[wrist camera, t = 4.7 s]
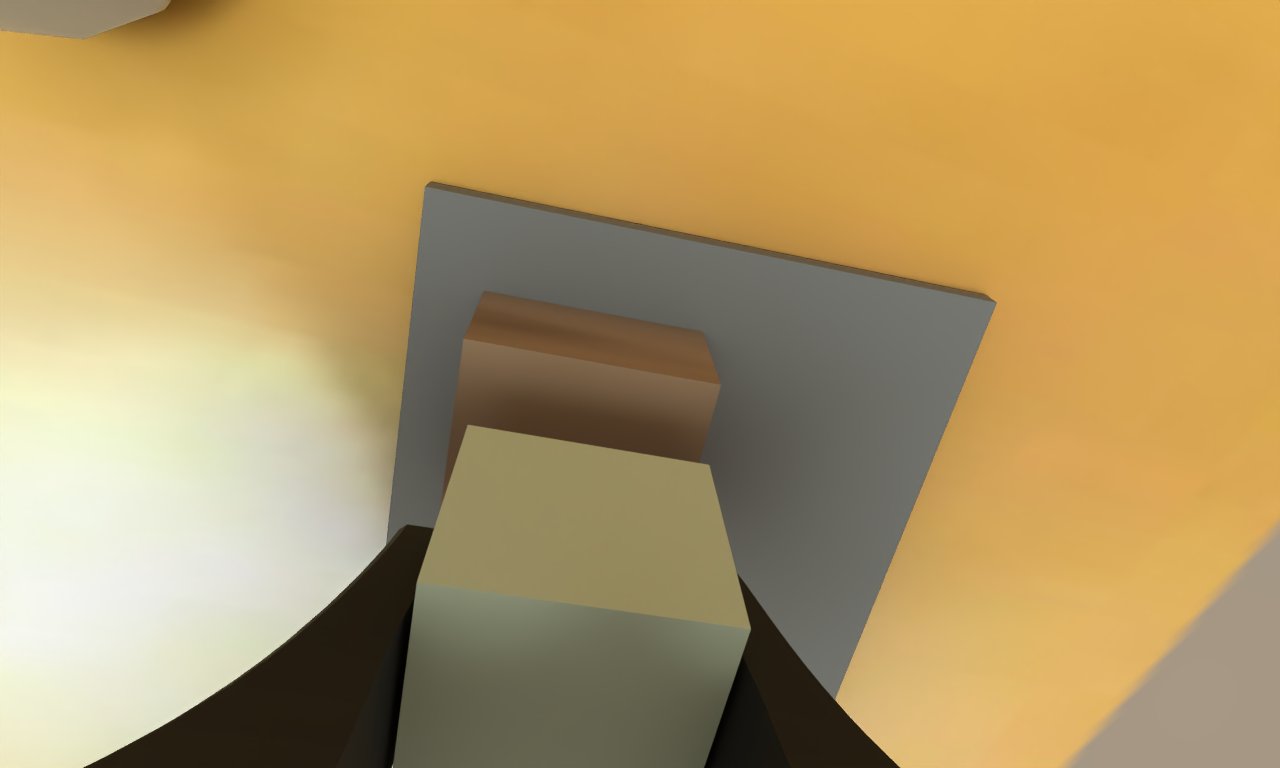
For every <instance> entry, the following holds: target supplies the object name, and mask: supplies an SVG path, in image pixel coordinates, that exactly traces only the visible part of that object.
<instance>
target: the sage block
mask: <svg viewBox="0 0 1280 768" xmlns="http://www.w3.org/2000/svg"><path fill="white" fill-rule="evenodd" d="M750 631H751V627H750V623H749V619H748V615H747V611H746V607H745V604H744V600H743V596H742V592H741V588H740V584H739V580H738V576H737V572H736V568H735V564H734V560H733V556H732V552H731V549H730V545H729V541H728V537H727V533H726V529H725V525H724V521H723V517H722V513H721V509H720V505H719V501H718V497H717V493H716V490H715V486H714V482H713V478H712V474H711V470H710V466H709V465H707V464H701V463H695V462H689V461H683V460H677V459H671V458H665V457H659V456H653V455H647V454H641V453H635V452H629V451H623V450H617V449H611V448H605V447H599V446H593V445H587V444H581V443H575V442H569V441H563V440H557V439H551V438H545V437H539V436H533V435H527V434H521V433H515V432H509V431H503V430H497V429H491V428H485V427H479V426H473V425H468V426H467V429H466V432H465V435H464V438H463V441H462V444H461V447H460V450H459V453H458V457H457V460H456V463H455V466H454V469H453V472H452V475H451V478H450V481H449V484H448V487H447V490H446V494H445V497H444V500H443V503H442V506H441V509H440V512H439V515H438V518H437V521H436V524H435V528H434V531H433V534H432V537H431V540H430V543H429V546H428V549H427V552H426V555H425V558H424V562H423V565H422V568H421V571H420V574H419V577H418V580H417V585H416V592H415V600H414V608H413V616H412V623H411V631H410V639H409V647H408V654H407V662H406V670H405V678H404V685H403V693H402V701H401V708H400V716H399V724H398V732H397V739H396V747H395V755H394V763H393V768H704V766H705V763H706V760H707V757H708V755H709V752H710V749H711V746H712V743H713V740H714V737H715V734H716V731H717V728H718V725H719V722H720V719H721V716H722V713H723V710H724V707H725V704H726V701H727V698H728V695H729V693H730V690H731V687H732V684H733V681H734V678H735V675H736V672H737V669H738V666H739V663H740V660H741V657H742V654H743V651H744V648H745V645H746V642H747V639H748V636H749V633H750Z"/></svg>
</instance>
